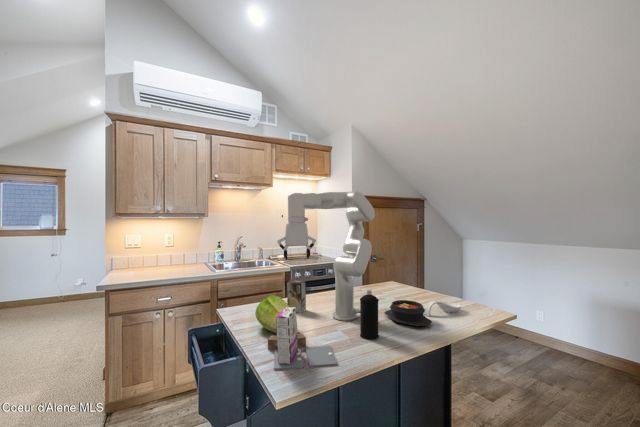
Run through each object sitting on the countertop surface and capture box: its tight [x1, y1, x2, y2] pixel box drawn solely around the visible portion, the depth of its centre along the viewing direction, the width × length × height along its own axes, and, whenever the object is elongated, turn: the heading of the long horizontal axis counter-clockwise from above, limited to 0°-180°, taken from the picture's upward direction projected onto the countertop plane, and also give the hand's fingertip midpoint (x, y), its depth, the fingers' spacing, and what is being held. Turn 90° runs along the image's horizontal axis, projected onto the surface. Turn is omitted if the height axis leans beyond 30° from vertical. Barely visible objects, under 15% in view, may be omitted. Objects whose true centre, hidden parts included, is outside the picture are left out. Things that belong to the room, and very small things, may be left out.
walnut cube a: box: [297, 333, 307, 349], centre depth 113 cm, size 4×4×4 cm
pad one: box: [304, 345, 339, 368], centre depth 104 cm, size 10×14×1 cm
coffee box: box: [286, 279, 307, 314], centre depth 157 cm, size 9×6×16 cm
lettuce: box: [254, 294, 289, 334], centre depth 129 cm, size 15×24×16 cm
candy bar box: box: [276, 307, 298, 364], centre depth 103 cm, size 11×5×16 cm, turn 171°
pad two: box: [273, 348, 305, 371], centre depth 103 cm, size 10×14×1 cm
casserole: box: [383, 299, 433, 327], centre depth 142 cm, size 25×19×8 cm
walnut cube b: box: [267, 335, 278, 351], centre depth 112 cm, size 4×4×4 cm
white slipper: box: [423, 299, 462, 317], centre depth 154 cm, size 24×12×7 cm, turn 117°
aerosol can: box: [359, 289, 380, 341], centre depth 123 cm, size 8×8×20 cm
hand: (297, 258), depth 126 cm, fingers open, 9 cm apart
